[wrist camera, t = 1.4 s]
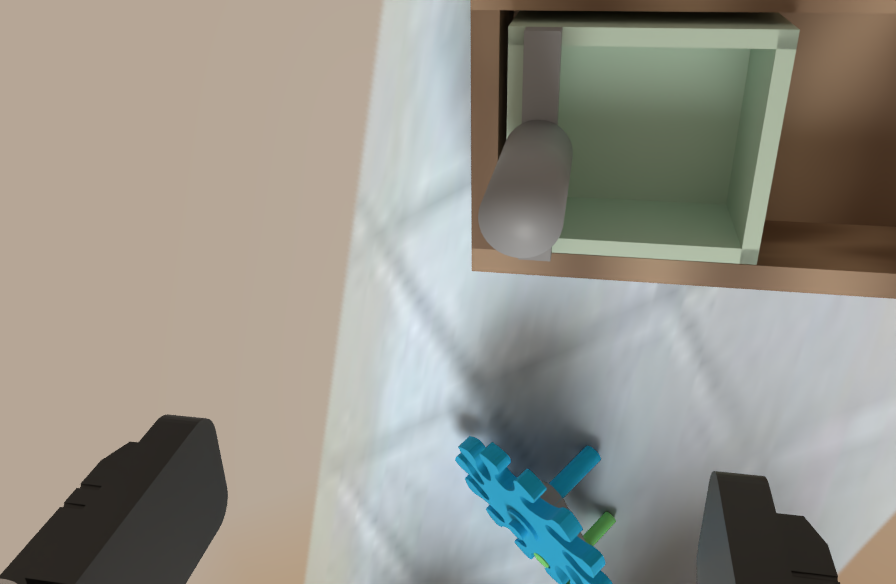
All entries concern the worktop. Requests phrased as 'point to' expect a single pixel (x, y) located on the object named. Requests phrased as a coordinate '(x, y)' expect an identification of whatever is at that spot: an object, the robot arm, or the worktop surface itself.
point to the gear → (539, 511)
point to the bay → (797, 163)
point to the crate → (639, 134)
